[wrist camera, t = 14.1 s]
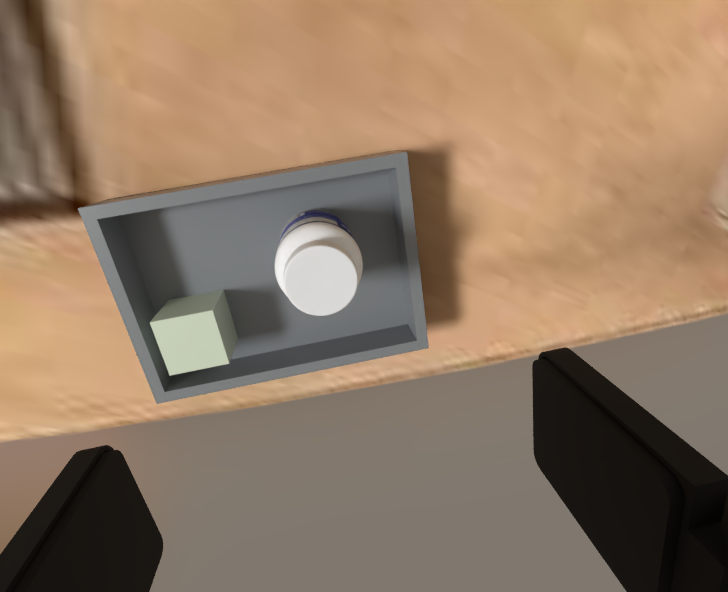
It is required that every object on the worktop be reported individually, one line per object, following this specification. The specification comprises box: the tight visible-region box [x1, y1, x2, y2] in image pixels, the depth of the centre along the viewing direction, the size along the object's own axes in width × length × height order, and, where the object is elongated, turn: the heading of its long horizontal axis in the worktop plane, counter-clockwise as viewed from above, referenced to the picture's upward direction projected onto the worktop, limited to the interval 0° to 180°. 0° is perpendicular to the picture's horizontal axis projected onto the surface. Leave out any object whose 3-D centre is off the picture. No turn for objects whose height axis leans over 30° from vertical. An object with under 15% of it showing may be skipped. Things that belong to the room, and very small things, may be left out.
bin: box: [78, 151, 429, 404], centre depth 30 cm, size 20×14×4 cm
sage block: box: [150, 290, 238, 376], centre depth 29 cm, size 4×4×4 cm
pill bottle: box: [275, 209, 363, 316], centre depth 26 cm, size 5×5×9 cm
